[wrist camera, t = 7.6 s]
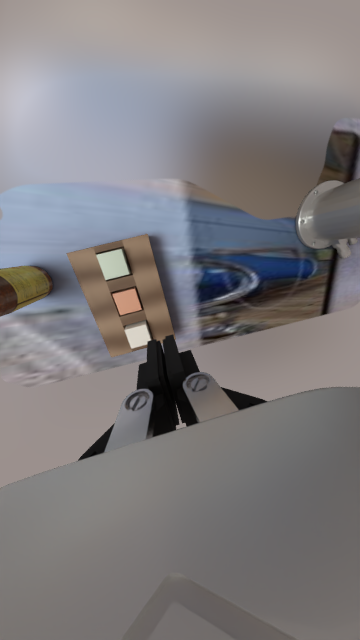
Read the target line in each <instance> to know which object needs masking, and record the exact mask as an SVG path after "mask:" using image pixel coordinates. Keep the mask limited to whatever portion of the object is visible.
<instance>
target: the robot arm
mask: <svg viewBox="0 0 360 640" xmlns="http://www.w3.org/2000/svg"><path fill="white" fill-rule="evenodd" d="M296 231H297V235H298V237H299V239H300V241H301V242H302V243H303V244H304V245H305V246H307V247H309V248H313V249H321V248H326V247H329V246H331V245H332V246H333V247H334V248H336V249H337V252H338V255H339V257H340V258H346V257H348V256H350V255H351V252H350V249H349V247H348V246H347V244H346V243H347V241H348V243H349V245H353V244H355V243H357V238H360V178H359V179H356V180H353V181H351V182H348V183H345V184H344V183H342V182H340V181H337V180H331V181H326V182H324V183H321V184H319V185H317V186H316V187H314V188H313V189H312V190H311V191H309V192H308V194H307V195H306V196H305V198H304V199H303V201H302V202H301V204H300V207H299V209H298V212H297V216H296ZM162 341H163V348H164V352H163V349H162V345H161V342H160V340H159V341H157V340H156V339H154V340H151V341H148V342H147V362H146V363H143V364H140V365H139V371H138V381H137V390H136V391H134V392H132V393H131V394H129V395H128V396H127V397H126V398H125V399H124V401H123V403H122V405H121V408H120V410H119V413H118V416H117V419H116V421H115V423H114V424H113V425H112V426H111V427H110V429H108V430H107V431H106V432H105V433H104V434H103V435H102V436H101V437H100V438H99V439H98V440H97V441H96V442H95V443H94V444H93V445H92V446H91V447H90V448H89V449H88V450H87V451H86V452H85V453H84V454H83V455H82V456H81V457H80V458H79V460H78V461H76V462H73V463H70V464H67V465H64V466H61V467H58V468H54V469H52V470H48V471H45V472H42V473H39V474H36V475H34V476H31V477H28V478H25V479H22V480H19V481H17V482H14V483H11V484H8V485H6V486H4V487H1V488H0V640H360V387H331V388H320V389H314V390H309V391H304V392H301V393H297V394H293V395H289V396H286V397H282V398H278V399H275V400H272V401H265V400H263V399H260V398H256V397H253V396H249V395H246V394H242V393H239V392H236V391H232V390H229V389H225V388H222V387H220V386H219V385H218V383H217V382H216V381H215V380H214V378H213V377H212V376H211V375H210V374H208V373H204V372H200V371H199V369H198V366H197V364H196V362H195V359H194V357H193V355H192V353H191V350H188V351H185V352H181V353H179V352H178V349H177V346H176V342H175V339H174V335H173V334H172V335H169V336H165V339H163V340H162ZM175 401H176V402H175ZM176 405H177V407H176ZM177 408H178V411H179V414H180V417H181V420H182V423H186V426H187V427H184V428H181V429H177V430H176V425H179V419H178V414H177Z"/></svg>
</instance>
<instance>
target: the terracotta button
mask: <svg viewBox="0 0 360 640" xmlns="http://www.w3.org/2000/svg"><path fill="white" fill-rule="evenodd" d="M112 295H113V297H114V300H115V303H116V305H117V308H118V311H119V313H120V315H123V314H127V313H131V312H135V311H138V310H142V303H141V300H140V297H139V294H138V291H137V288H136V286H134V287H130V288H126V289H123V290H119V291H115V292H114V293H113V294H112Z"/></svg>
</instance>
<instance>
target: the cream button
mask: <svg viewBox="0 0 360 640" xmlns="http://www.w3.org/2000/svg"><path fill="white" fill-rule="evenodd" d="M125 333H126V336H127V338H128V341H129V344H130V346H131V349H132V348H136V347H140V346H143V345H147V342H148V341H151V340H152V336H151V333H150V330H149V327H148V324H147V321H146V320H143V321H140V322H136V323H132V324H129V325H126V327H125Z"/></svg>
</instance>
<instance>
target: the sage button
mask: <svg viewBox="0 0 360 640" xmlns="http://www.w3.org/2000/svg"><path fill="white" fill-rule="evenodd" d="M96 256H97V259H98V261H99V264H100V267H101V269H102V272H103V275H104V277H105V280H108V279H112V278H116V277H120V276H124V275H128V274H130V273H131V271H130V268H129V265H128V262H127V258H126V255H125V252H124V249H119V250H115V251H111V252H106V253H102V254H98V255H96Z"/></svg>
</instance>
